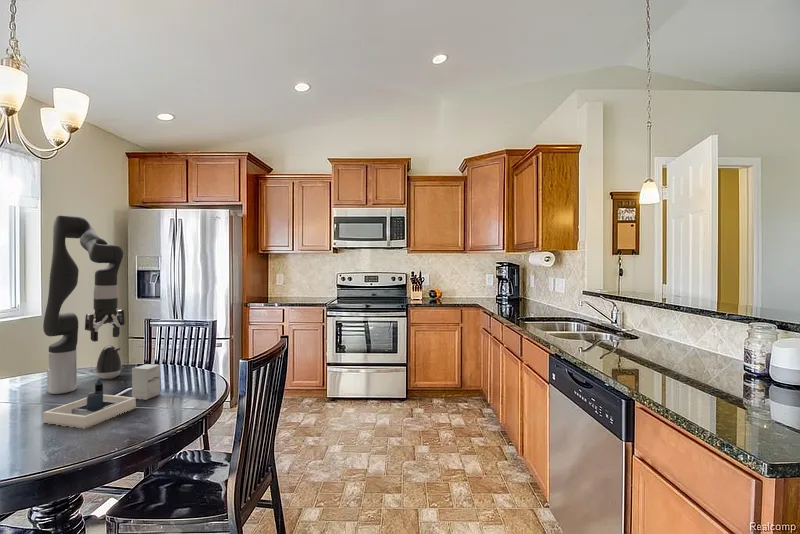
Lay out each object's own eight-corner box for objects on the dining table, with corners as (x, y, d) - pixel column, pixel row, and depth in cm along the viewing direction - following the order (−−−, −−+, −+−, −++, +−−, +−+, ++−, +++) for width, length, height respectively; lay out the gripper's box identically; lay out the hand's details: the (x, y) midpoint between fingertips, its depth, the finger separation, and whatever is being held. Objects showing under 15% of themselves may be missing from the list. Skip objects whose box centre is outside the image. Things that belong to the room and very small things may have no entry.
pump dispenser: (112, 380, 193) (112, 348, 192) (90, 380, 193) (90, 348, 192) (127, 374, 203) (127, 343, 202) (106, 374, 203) (106, 343, 203)
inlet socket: (71, 417, 146) (71, 409, 146) (98, 407, 156) (98, 399, 156) (94, 420, 144) (94, 411, 144) (119, 410, 154) (119, 402, 154)
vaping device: (105, 412, 152) (105, 379, 151) (90, 417, 147) (90, 383, 146) (100, 411, 152) (99, 378, 152) (85, 416, 147) (85, 382, 147)
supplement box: (146, 400, 167) (146, 369, 167) (131, 398, 168) (131, 368, 168) (160, 394, 174) (160, 364, 174) (145, 393, 176) (145, 363, 175)
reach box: (43, 423, 143) (43, 412, 143) (97, 403, 162) (97, 393, 162) (84, 429, 139) (84, 417, 138) (135, 408, 158) (135, 397, 158)
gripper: (115, 294, 166) (114, 334, 166) (79, 298, 152) (79, 341, 152) (130, 295, 164) (129, 336, 164) (95, 299, 150) (95, 343, 151)
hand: (105, 339), depth 158 cm, fingers open, 8 cm apart
